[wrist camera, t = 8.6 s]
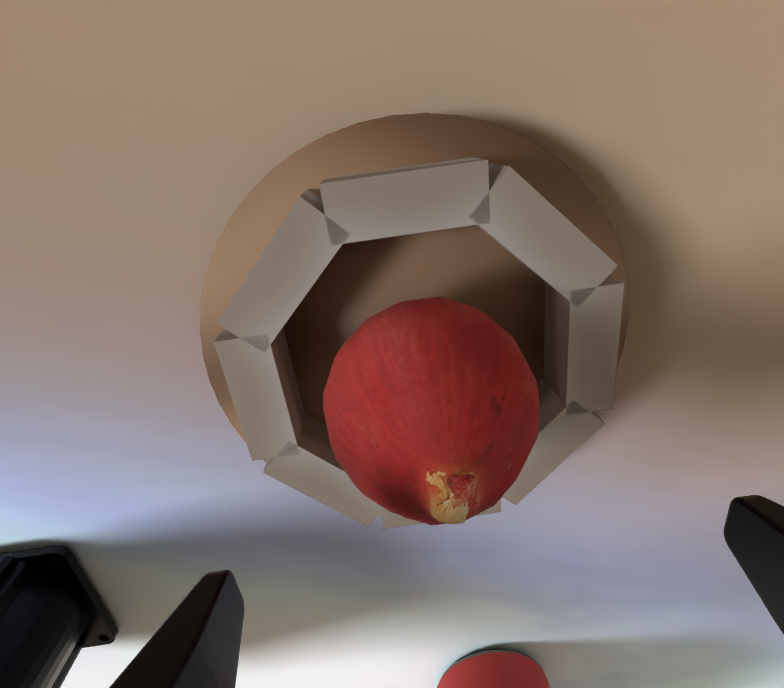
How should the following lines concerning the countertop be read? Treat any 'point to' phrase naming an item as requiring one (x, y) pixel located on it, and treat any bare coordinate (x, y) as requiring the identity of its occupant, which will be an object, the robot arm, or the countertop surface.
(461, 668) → the beer can
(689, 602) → the countertop surface
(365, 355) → the onion
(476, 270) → the ring board
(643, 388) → the countertop surface
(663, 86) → the countertop surface
